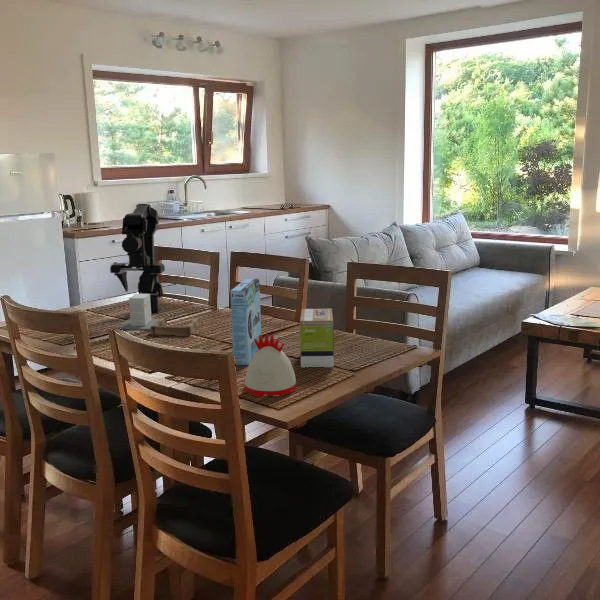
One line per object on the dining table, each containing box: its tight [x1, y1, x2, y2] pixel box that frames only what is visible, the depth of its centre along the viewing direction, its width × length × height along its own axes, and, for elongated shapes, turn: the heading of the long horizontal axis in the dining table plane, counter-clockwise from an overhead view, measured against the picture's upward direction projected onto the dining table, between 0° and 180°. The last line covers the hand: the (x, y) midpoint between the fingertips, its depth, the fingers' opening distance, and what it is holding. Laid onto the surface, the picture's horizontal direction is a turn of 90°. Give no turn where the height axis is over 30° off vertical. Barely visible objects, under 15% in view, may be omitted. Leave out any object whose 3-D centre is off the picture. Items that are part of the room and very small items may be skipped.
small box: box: [128, 293, 152, 326], centre depth 246 cm, size 8×6×10 cm
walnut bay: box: [150, 316, 201, 337], centre depth 239 cm, size 14×14×3 cm
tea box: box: [299, 308, 335, 369], centre depth 202 cm, size 15×10×15 cm
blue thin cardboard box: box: [229, 278, 262, 366], centre depth 206 cm, size 20×5×23 cm, turn 171°
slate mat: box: [116, 318, 161, 331], centre depth 247 cm, size 14×14×1 cm
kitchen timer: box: [244, 333, 297, 397], centre depth 179 cm, size 14×14×15 cm
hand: (139, 291), depth 244 cm, fingers open, 9 cm apart
